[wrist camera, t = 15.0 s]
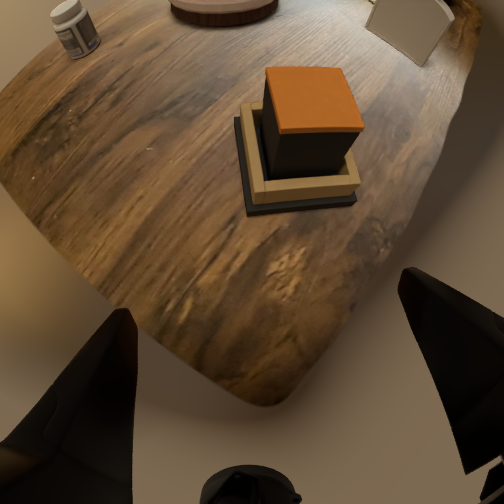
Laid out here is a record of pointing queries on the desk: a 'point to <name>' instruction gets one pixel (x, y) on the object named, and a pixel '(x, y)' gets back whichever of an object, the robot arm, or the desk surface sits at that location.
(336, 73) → the orange rectangular block
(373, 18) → the gravestone
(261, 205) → the base pad
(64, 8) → the pill bottle
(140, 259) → the desk surface
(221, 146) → the desk surface
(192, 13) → the mug
